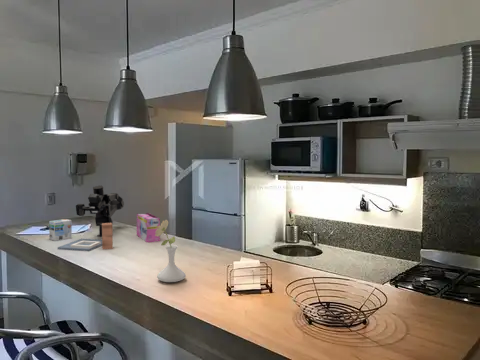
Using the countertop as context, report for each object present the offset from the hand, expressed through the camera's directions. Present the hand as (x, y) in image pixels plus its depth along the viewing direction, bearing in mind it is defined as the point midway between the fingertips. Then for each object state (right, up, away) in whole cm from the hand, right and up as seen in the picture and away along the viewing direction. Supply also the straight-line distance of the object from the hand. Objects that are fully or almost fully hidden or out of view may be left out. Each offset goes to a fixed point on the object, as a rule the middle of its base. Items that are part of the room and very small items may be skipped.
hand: (87, 215), depth 218 cm
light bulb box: (-22, -15, +16) cm, 31 cm away
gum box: (+28, -16, +21) cm, 39 cm away
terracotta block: (+12, -17, -5) cm, 22 cm away
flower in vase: (+55, -21, -58) cm, 82 cm away
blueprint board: (-2, -17, 0) cm, 17 cm away
